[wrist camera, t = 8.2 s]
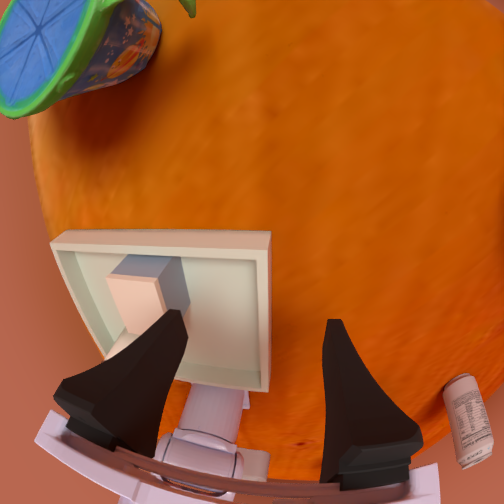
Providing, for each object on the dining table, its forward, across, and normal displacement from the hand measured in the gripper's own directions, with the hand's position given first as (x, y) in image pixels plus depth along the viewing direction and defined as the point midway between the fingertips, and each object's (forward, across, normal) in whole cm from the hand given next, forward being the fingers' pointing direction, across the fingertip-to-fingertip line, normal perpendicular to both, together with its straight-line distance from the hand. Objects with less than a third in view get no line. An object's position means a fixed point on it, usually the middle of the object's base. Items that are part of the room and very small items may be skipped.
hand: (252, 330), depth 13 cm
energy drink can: (+10, -30, +24) cm, 40 cm away
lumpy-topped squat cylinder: (+10, +6, +59) cm, 60 cm away
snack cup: (+10, +11, -17) cm, 23 cm away
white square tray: (+10, +11, +9) cm, 17 cm away
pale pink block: (+9, +10, +4) cm, 14 cm away
